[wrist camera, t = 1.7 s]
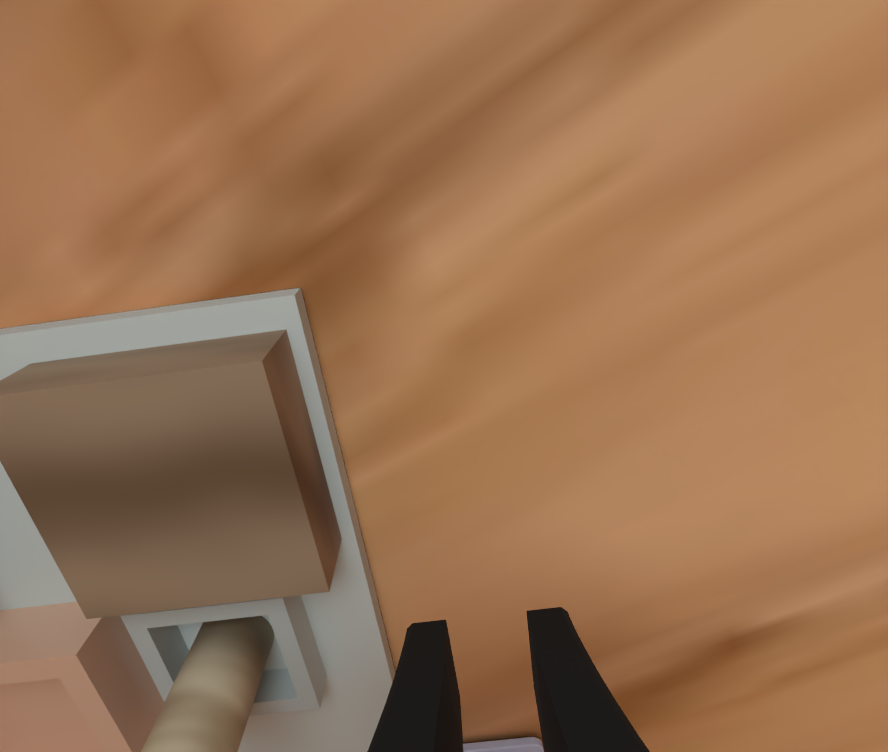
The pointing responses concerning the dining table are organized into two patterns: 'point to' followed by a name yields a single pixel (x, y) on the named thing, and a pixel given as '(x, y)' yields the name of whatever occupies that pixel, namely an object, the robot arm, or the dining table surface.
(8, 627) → the tray
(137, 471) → the square tan tile
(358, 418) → the dining table surface
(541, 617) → the robot arm
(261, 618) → the dowel
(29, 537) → the jig board
